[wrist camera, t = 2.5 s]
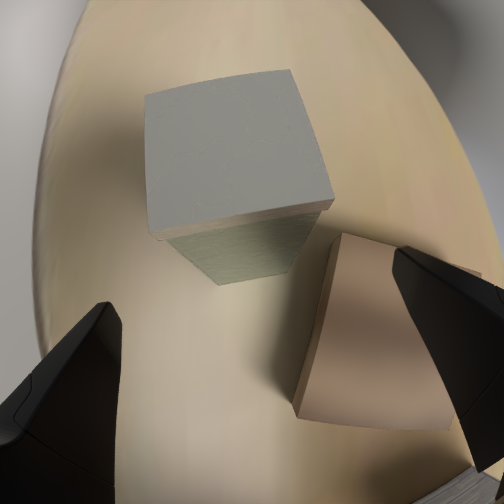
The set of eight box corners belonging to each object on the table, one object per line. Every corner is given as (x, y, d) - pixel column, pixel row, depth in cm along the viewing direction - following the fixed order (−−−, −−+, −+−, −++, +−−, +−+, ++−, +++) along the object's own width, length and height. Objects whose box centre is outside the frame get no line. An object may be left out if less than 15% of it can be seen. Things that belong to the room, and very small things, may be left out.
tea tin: (288, 273, 20) (335, 198, 7) (217, 287, 20) (148, 233, 7) (273, 207, 21) (289, 69, 8) (206, 219, 21) (145, 95, 8)
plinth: (428, 419, 17) (448, 429, 14) (291, 404, 18) (297, 418, 15) (458, 279, 19) (481, 273, 16) (330, 244, 20) (342, 232, 17)
